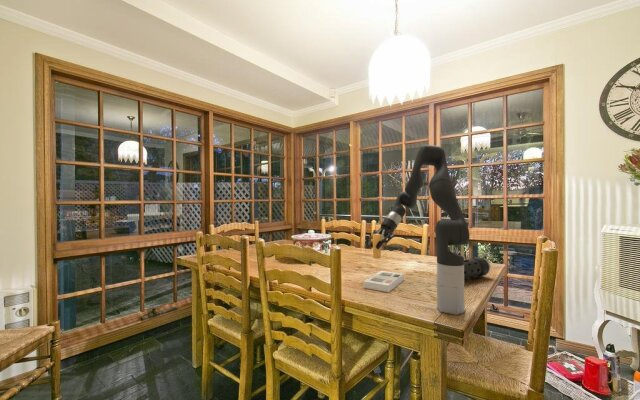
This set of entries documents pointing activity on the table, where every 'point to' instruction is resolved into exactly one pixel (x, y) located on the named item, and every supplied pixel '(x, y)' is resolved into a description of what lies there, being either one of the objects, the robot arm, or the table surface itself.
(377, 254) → the plug
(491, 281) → the table surface
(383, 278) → the socket plate
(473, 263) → the muzzle brake
